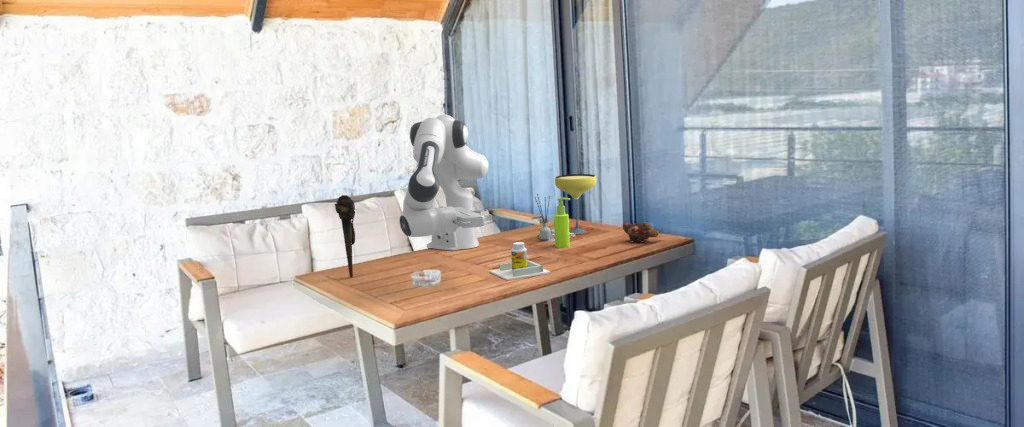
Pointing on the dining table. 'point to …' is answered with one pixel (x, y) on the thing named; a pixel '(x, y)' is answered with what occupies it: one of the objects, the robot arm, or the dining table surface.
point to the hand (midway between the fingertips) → (485, 214)
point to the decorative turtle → (639, 231)
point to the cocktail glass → (575, 189)
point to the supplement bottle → (519, 256)
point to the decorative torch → (347, 225)
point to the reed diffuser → (544, 224)
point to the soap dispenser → (561, 225)
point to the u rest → (519, 271)
